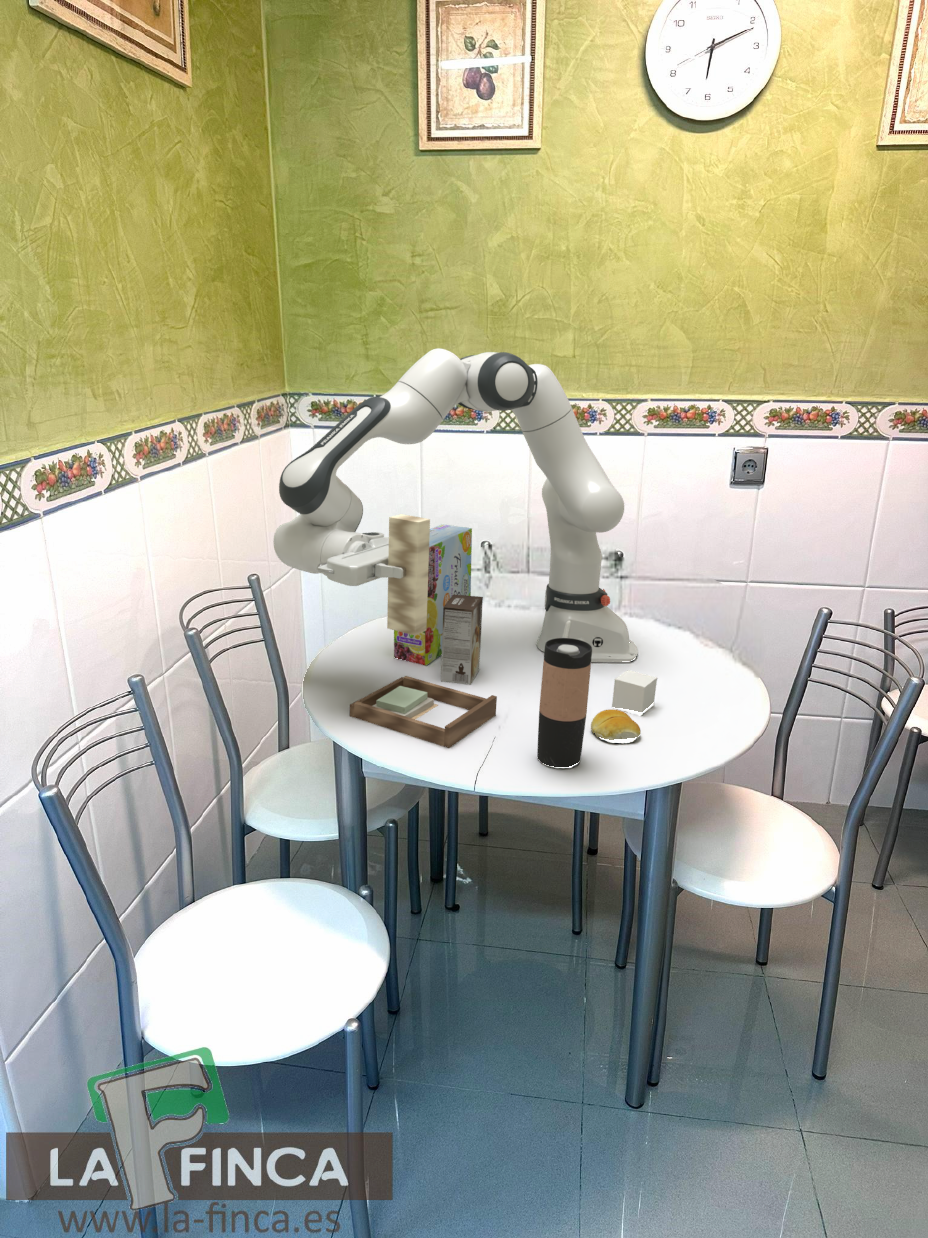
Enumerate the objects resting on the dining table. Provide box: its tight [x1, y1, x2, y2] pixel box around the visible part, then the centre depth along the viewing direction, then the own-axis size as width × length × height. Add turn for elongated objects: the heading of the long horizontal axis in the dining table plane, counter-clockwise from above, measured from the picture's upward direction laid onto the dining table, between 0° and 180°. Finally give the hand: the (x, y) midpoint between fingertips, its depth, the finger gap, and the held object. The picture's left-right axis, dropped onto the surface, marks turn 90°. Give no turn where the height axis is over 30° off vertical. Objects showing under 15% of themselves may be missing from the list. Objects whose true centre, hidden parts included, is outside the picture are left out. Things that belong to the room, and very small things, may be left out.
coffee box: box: [440, 594, 484, 686], centre depth 169 cm, size 9×6×16 cm
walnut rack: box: [349, 675, 498, 749], centre depth 152 cm, size 21×16×4 cm
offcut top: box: [376, 686, 428, 714], centre depth 155 cm, size 6×8×1 cm
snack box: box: [393, 523, 473, 667], centre depth 183 cm, size 22×9×26 cm, turn 154°
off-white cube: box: [611, 669, 658, 712], centre depth 160 cm, size 6×6×6 cm
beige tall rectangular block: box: [386, 513, 431, 635], centre depth 146 cm, size 6×4×20 cm, turn 58°
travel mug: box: [536, 638, 592, 767], centre depth 137 cm, size 8×8×20 cm
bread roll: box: [590, 708, 642, 740], centre depth 149 cm, size 8×9×4 cm
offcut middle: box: [373, 697, 435, 718], centre depth 155 cm, size 7×10×1 cm
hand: (412, 570), depth 146 cm, fingers closed on beige tall rectangular block, 3 cm apart
